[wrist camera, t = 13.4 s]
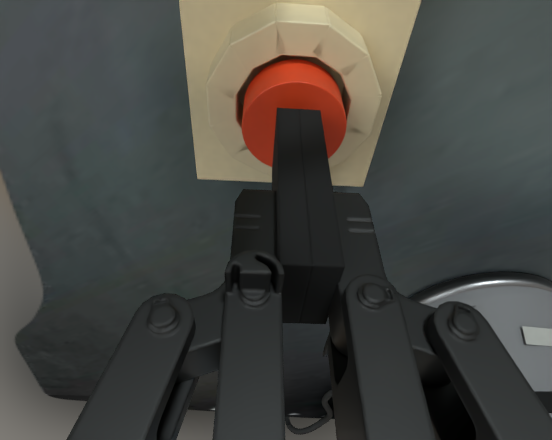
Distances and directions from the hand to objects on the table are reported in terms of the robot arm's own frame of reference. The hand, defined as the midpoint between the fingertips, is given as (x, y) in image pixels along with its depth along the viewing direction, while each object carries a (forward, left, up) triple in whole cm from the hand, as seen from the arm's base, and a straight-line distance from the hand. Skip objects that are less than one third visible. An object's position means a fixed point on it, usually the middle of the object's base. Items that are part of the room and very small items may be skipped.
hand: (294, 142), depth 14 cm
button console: (0, 0, -6) cm, 6 cm away
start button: (0, 0, -3) cm, 3 cm away
